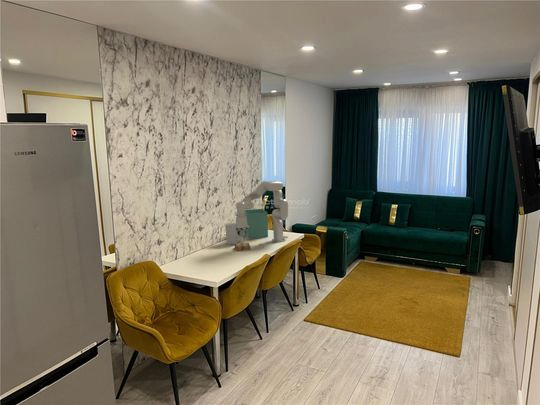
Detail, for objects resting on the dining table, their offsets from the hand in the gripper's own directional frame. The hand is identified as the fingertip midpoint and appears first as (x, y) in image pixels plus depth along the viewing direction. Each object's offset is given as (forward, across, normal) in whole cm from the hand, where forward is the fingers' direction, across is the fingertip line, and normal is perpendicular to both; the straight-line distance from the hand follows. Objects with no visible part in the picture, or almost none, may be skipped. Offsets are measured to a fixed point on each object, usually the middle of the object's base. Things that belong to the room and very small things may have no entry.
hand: (241, 234), depth 354 cm
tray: (+14, 0, 0) cm, 14 cm away
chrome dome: (+14, +18, +1) cm, 23 cm away
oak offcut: (+14, +6, +9) cm, 18 cm away
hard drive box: (+14, -3, +22) cm, 26 cm away
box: (+14, +24, +45) cm, 53 cm away
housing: (+1, 0, 0) cm, 1 cm away
